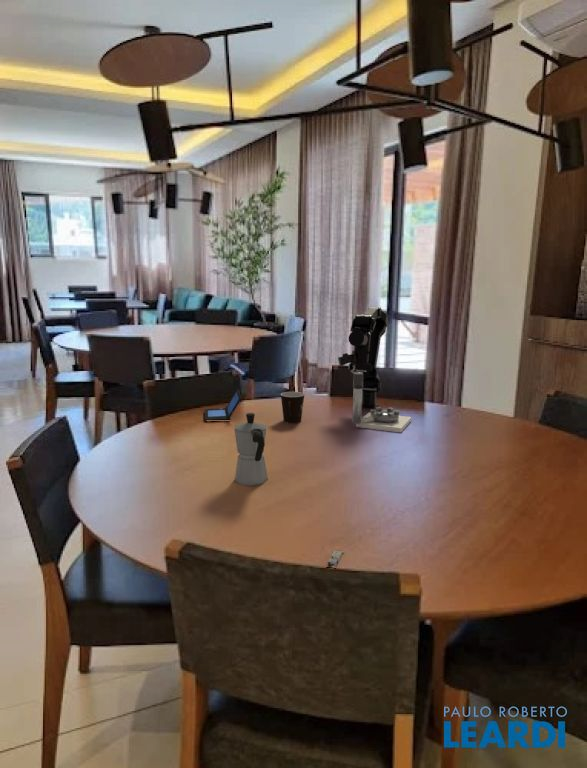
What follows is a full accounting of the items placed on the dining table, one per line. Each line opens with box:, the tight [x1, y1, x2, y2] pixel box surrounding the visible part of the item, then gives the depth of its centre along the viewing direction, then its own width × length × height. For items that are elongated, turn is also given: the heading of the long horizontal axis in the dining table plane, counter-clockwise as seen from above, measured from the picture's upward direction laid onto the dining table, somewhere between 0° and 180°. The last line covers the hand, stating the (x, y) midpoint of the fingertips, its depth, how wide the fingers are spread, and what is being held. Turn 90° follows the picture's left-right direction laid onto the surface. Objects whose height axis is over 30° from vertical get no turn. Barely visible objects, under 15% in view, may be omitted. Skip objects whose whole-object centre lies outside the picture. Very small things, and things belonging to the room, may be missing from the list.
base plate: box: [355, 412, 412, 433], centre depth 195 cm, size 16×16×2 cm
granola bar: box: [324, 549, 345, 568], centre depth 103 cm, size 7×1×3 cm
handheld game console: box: [204, 388, 242, 421], centre depth 203 cm, size 16×13×9 cm
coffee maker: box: [233, 412, 269, 487], centre depth 139 cm, size 15×9×18 cm, turn 23°
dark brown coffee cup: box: [280, 391, 305, 424], centre depth 196 cm, size 12×9×10 cm
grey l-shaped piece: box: [352, 371, 400, 424], centre depth 191 cm, size 10×19×18 cm, turn 113°
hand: (357, 389), depth 203 cm, fingers closed
